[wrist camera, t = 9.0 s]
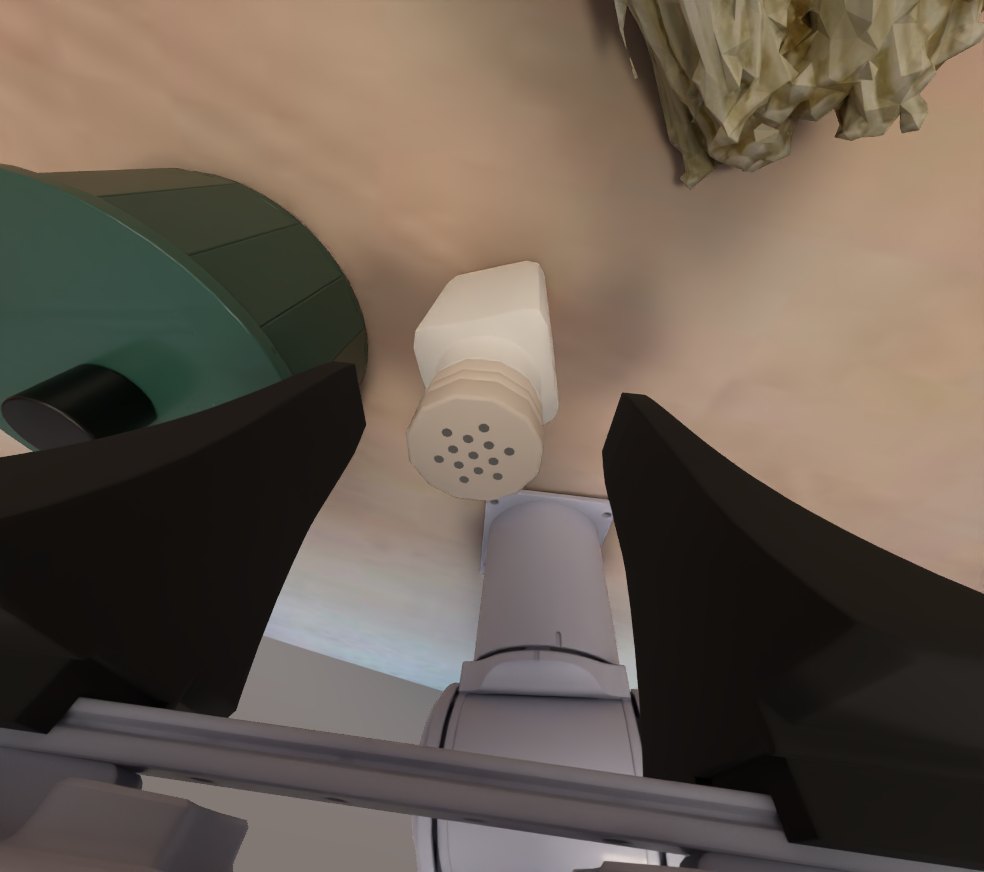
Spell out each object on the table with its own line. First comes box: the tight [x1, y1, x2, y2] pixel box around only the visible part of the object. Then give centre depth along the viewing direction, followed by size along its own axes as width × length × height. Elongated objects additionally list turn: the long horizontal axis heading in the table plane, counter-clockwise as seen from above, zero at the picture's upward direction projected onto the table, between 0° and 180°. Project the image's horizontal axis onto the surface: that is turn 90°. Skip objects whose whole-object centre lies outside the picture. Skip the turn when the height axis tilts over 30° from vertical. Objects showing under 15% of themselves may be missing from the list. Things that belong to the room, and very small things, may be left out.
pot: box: [39, 168, 368, 385], centre depth 15 cm, size 11×11×6 cm
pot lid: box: [0, 164, 292, 452], centre depth 11 cm, size 12×12×3 cm
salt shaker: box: [406, 261, 559, 501], centre depth 12 cm, size 4×4×10 cm
